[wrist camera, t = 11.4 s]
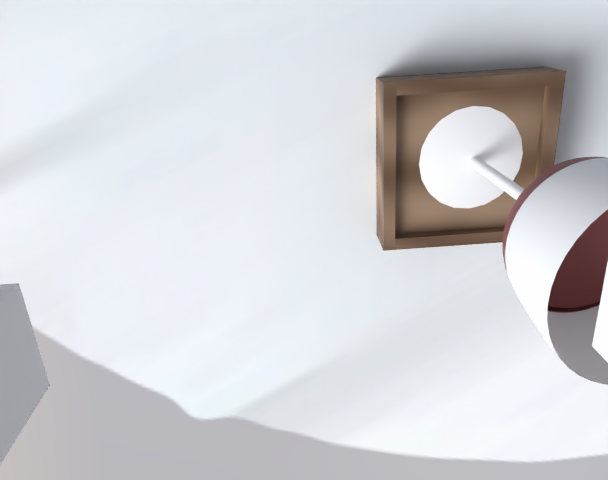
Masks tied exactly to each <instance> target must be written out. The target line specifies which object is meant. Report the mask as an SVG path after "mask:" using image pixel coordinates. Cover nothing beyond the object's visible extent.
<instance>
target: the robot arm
mask: <svg viewBox="0 0 608 480" xmlns="http://www.w3.org/2000/svg"><path fill="white" fill-rule="evenodd" d="M592 346H593V348H594V349H595V350H596V351H597V352H598V353H599V354H600V355H601V356H602V357H603V358H604V359H605V360H606V362H607V363H608V262H607V268H606V273H605V279H604V284H603V289H602V295H601V300H600V306H599V311H598V316H597V322H596V327H595V333H594V338H593V343H592ZM49 386H50V384H49V381H48V378H47V374H46V371H45V368H44V365H43V361H42V358H41V355H40V352H39V349H38V345H37V342H36V338H35V335H34V332H33V329H32V325H31V322H30V319H29V315H28V312H27V309H26V306H25V302H24V299H23V296H22V292H21V289H20V286H19V283H18V284H4V285H0V464H1V463H2V461H3V460H4V458H5V456H6V455H7V453H8V452H9V450H10V448H11V447H12V445H13V443H14V442H15V440H16V439H17V437H18V435H19V434H20V432H21V430H22V429H23V427H24V426H25V424H26V423H27V421H28V419H29V418H30V416H31V415H32V413H33V411H34V410H35V408H36V406H37V405H38V403H39V402H40V400H41V398H42V397H43V395H44V394H45V392H46V390H47V389H48V387H49Z"/></svg>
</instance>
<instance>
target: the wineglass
mask: <svg viewBox="0 0 608 480" xmlns="http://www.w3.org/2000/svg"><path fill="white" fill-rule="evenodd" d="M522 155H523V150H522V139H521V136H520V134H519V132H518V130H517V127H516V125H515V124H514V123H513V122H512V121H511V120H510V119H509V118H508V117H507V116H506V115H505V114H504V113H502V112H500V111H497V110H495V109H493V108H490V107H482V106H471V107H467V108H463V109H459V110H456V111H454V112H452V113H451V114H449V115H448V116H446V117H444V118H443V119H441V120H440V121H439V122H438V123H437V124H436V126H435V127H434V128H433V129H432V130H431V131H430V132H429V134H428V136H427V138H426V140H425V142H424V144H423V146H422V148H421V154H420V161H419V168H420V174H421V179H422V182H423V183H424V185H425V187H426V189H427V190H428V192H429V193H430V194H431V195H432V196H433V197H434V198H435V199H437V200H438V201H439V202H440V203H443V204H445V205H448V206H451V207H453V208H473V207H477V206H481V205H485V204H487V203H489V202H490V201H492V200H494V199H495V198H497V197H499V196H500V195H501V194H502V193H503V192H504V191H505V192H506V193H508V194H509V195H510V196H512V197H513V198H514V199H516V202H515V203H514V205H513V207H512V209H511V211H510V213H509V215H508V218H507V221H506V224H505V227H504V233H503V257H504V263H505V267H506V270H507V273H508V276H509V279H510V281H511V284H512V286H513V288H514V290H515V292H516V294H517V296H518V298H519V300H520V301H521V303H522V305H523V306H524V308H525V310H526V311H527V313H528V315H529V316H530V318H531V319H532V321H533V322H534V324H535V325H536V327H537V328H538V330H539V331H540V333H541V334H542V336H543V337H544V338H545V340H546V341H547V342H548V344H549V345H550V346H551V348H552V349H553V350H554V351H555V353H556V354H557V355H558V356H559V358H560V359H561V360H562V361H563V362H564V363H565V364H566V365H567V367H568V368H570V369H571V370H572V371H574V372H575V373H577V374H578V375H579V376H582V377H584V378H586V379H588V380H591V381H594V382H598V383H602V384H608V363H607V362H606V360H605V359H604V358H603V357H602V356H601V355H600V354H599V353H598V352H597V351H596V350H595V349H594V348H593V346H592V343H593V338H594V333H595V327H596V322H597V316H598V311H599V306H600V300H601V295H602V289H603V284H604V279H605V273H606V268H607V262H608V158H605V157H583V158H576V159H572V160H567V161H565V162H562V163H559V164H557V165H555V166H553V167H551V168H549V169H548V170H546V171H544V172H543V173H542V174H540V175H539V176H538V177H536V178H535V179H534V180H533V181H532V182H531V183H530V184H529V185H528V186H527V187H526V188H525V189H524V188H522V187H521V186H519V185H518V184H516V183H515V182H513V180H514V178H515V176H516V175H517V173H518V171H519V169H520V164H521V160H522Z"/></svg>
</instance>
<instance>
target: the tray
mask: <svg viewBox="0 0 608 480" xmlns="http://www.w3.org/2000/svg"><path fill="white" fill-rule="evenodd" d="M565 75H566V71H563V70H558V69H553V68H548V67H535V68H520V69H504V70H489V71H474V72H458V73H443V74H428V75H412V76H397V77H382V78H376V166H377V236H378V239H379V241H380V243H381V246H382V248H383V250H396V249H411V248H425V247H440V246H454V245H468V244H483V243H497V242H503V233H504V227H505V224H506V221H507V218H508V215H509V213H510V211H511V209H512V207H513V205H514V203H515V202H516V199H514V198H513V197H512V196H510V195H509V194H508V193H506V192H505V191H504V192H503V193H502V194H501V195H500V196H499V197H497V198H495V199H494V200H492V201H490V202H489V203H487V204H485V205H481V206H477V207H473V208H453V207H451V206H448V205H445V204H443V203H440V202H439V201H438V200H437V199H435V198H434V197H433V196H432V195H431V194H430V193H429V192H428V190H427V189H426V187H425V185H424V183H423V182H422V179H421V174H420V168H419V161H420V154H421V148H422V146H423V144H424V142H425V140H426V138H427V136H428V134H429V132H430V131H431V130H432V129H433V128H434V127H435V126H436V124H437V123H438V122H439V121H440V120H441V119H443V118H444V117H446V116H448V115H449V114H451V113H452V112H454V111H456V110H459V109H463V108H467V107H471V106H482V107H490V108H493V109H495V110H497V111H500V112H502V113H504V114H505V115H506V116H507V117H508V118H509V119H510V120H511V121H512V122H513V123H514V124H515V125H516V127H517V130H518V132H519V134H520V136H521V139H522V150H523V155H522V160H521V164H520V169H519V171H518V173H517V175H516V176H515V178H514V180H513V182H515V183H516V184H518V185H519V186H521V187H522V188H524V189H525V188H526V187H527V186H528V185H529V184H530V183H531V182H532V181H533V180H534V179H535V178H536V177H538V176H539V175H540V174H542V173H543V172H544V171H546V170H548V169H549V168H551V167H553V166H554V159H555V152H556V144H557V136H558V129H559V121H560V113H561V106H562V98H563V90H564V83H565Z"/></svg>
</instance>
